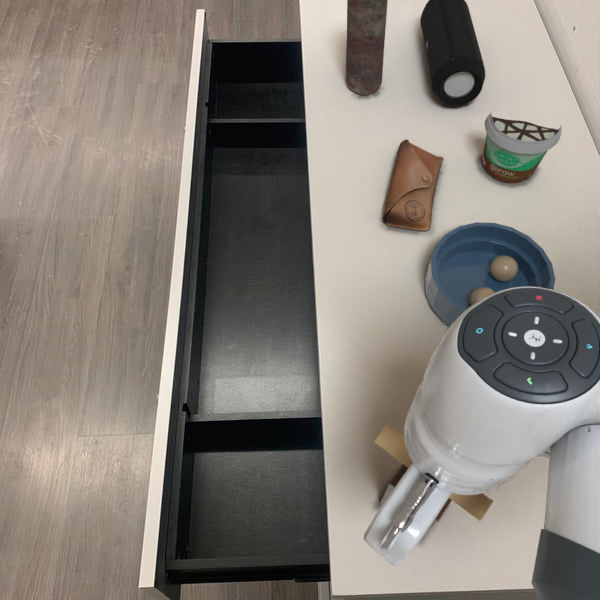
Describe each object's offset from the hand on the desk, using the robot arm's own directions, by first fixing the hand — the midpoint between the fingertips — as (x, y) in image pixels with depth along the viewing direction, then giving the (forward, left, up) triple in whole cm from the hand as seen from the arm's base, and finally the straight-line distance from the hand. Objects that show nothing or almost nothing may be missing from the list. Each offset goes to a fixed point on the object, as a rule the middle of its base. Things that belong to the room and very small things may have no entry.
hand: (432, 473), depth 53 cm
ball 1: (+9, -30, -15) cm, 34 cm away
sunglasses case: (+29, -44, -16) cm, 55 cm away
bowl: (+9, -33, -16) cm, 38 cm away
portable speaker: (+42, -76, -16) cm, 88 cm away
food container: (+18, -57, -16) cm, 62 cm away
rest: (0, 0, -16) cm, 16 cm away
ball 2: (+9, -38, -15) cm, 42 cm away
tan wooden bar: (0, 0, 0) cm, 0 cm away
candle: (+53, -62, -16) cm, 83 cm away
